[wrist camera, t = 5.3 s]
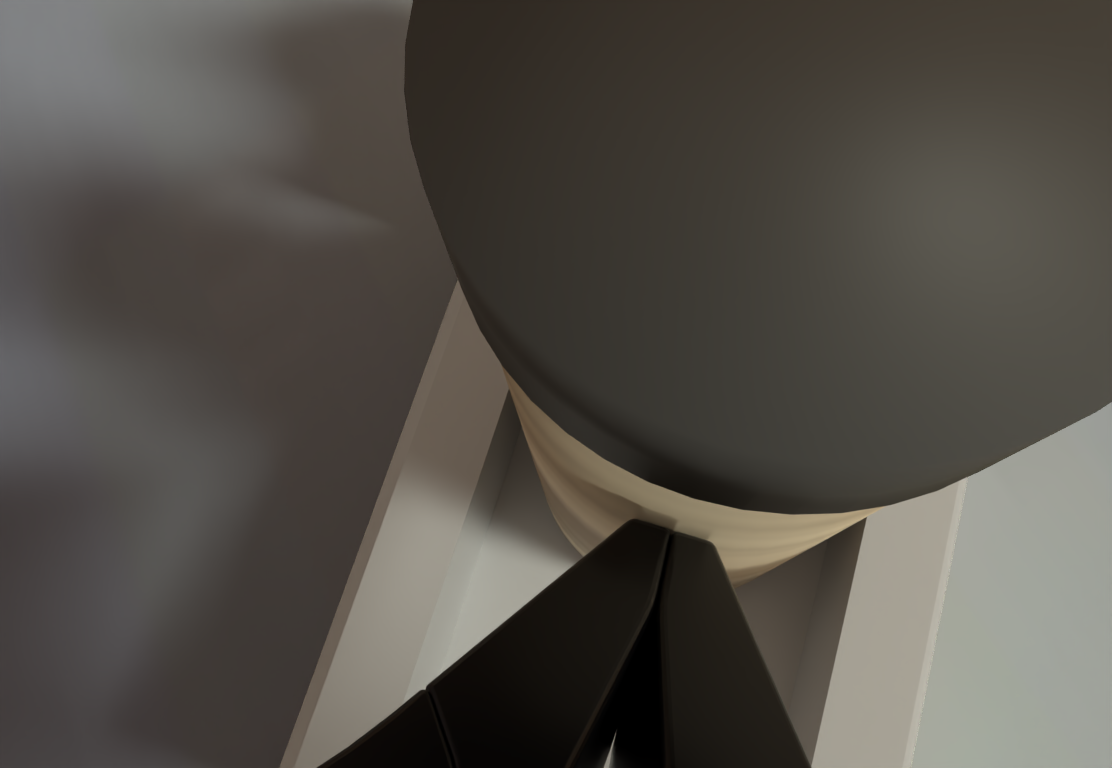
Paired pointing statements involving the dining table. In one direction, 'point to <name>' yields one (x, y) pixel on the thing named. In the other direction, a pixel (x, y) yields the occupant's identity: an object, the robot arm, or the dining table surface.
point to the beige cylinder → (773, 245)
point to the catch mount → (545, 554)
